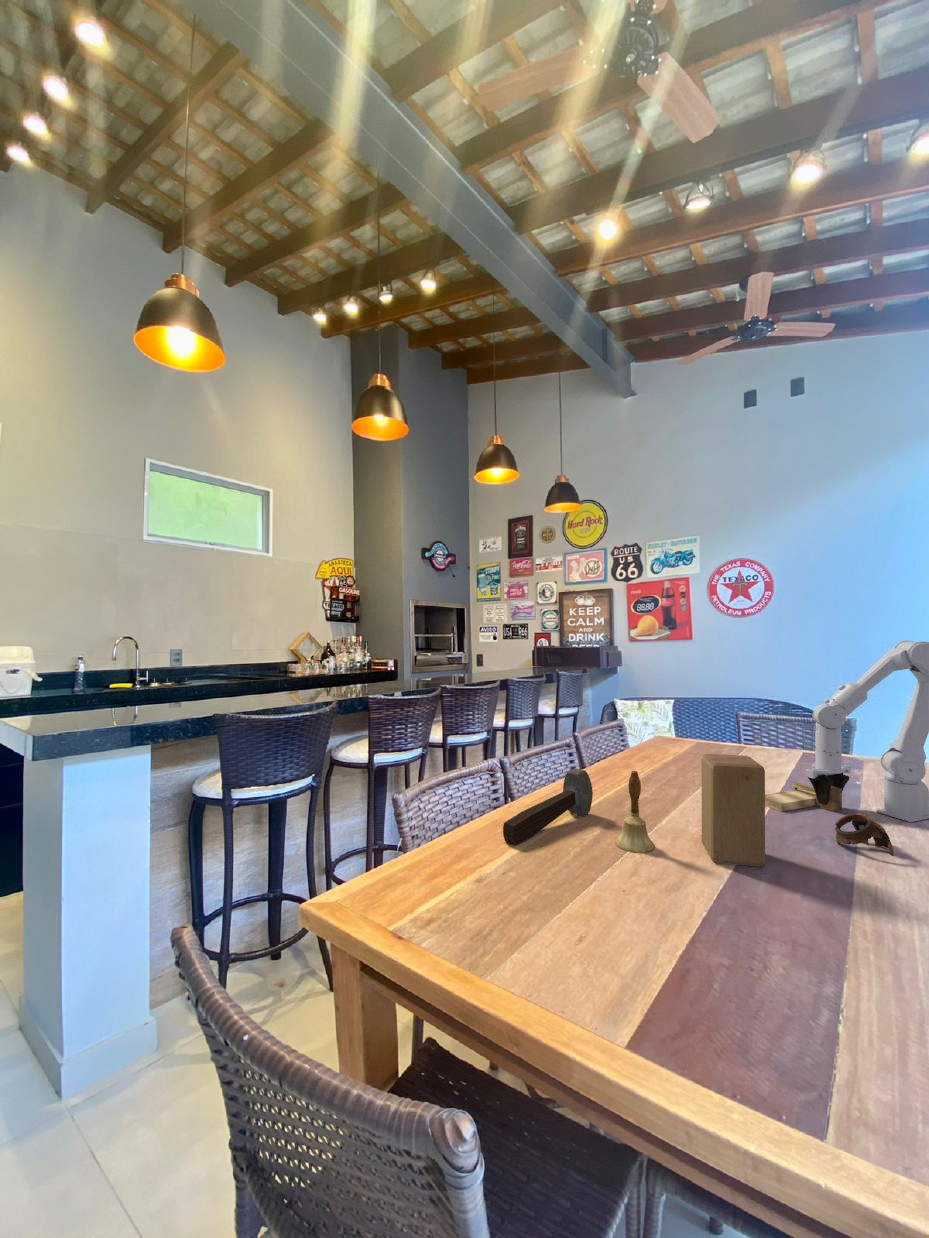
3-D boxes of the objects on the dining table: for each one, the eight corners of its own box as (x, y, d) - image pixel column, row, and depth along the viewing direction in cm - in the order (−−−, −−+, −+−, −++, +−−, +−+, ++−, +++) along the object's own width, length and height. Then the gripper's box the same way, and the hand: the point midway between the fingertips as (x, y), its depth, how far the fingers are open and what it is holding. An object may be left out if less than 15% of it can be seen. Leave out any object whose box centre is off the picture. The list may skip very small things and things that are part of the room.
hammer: (518, 864, 115) (594, 811, 136) (514, 813, 114) (590, 768, 135) (502, 857, 118) (577, 807, 139) (497, 808, 118) (574, 765, 138)
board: (801, 795, 150) (801, 788, 150) (826, 803, 144) (826, 795, 144) (757, 803, 144) (757, 795, 144) (781, 811, 137) (781, 803, 137)
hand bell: (660, 852, 112) (660, 776, 112) (621, 852, 112) (621, 776, 112) (647, 837, 121) (647, 766, 121) (610, 837, 121) (610, 766, 121)
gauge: (797, 796, 150) (797, 776, 150) (841, 809, 139) (841, 788, 139) (789, 797, 149) (789, 777, 149) (832, 811, 137) (832, 790, 138)
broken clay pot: (902, 865, 108) (881, 829, 108) (850, 874, 113) (830, 839, 113) (890, 830, 118) (870, 797, 119) (843, 840, 123) (824, 808, 124)
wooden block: (766, 869, 105) (766, 766, 105) (712, 864, 107) (712, 764, 107) (750, 848, 115) (750, 754, 115) (700, 844, 117) (700, 752, 117)
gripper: (831, 745, 147) (831, 794, 147) (794, 749, 141) (794, 801, 141) (858, 750, 140) (859, 802, 140) (820, 755, 135) (821, 809, 135)
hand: (828, 802), depth 140 cm, fingers open, 4 cm apart
